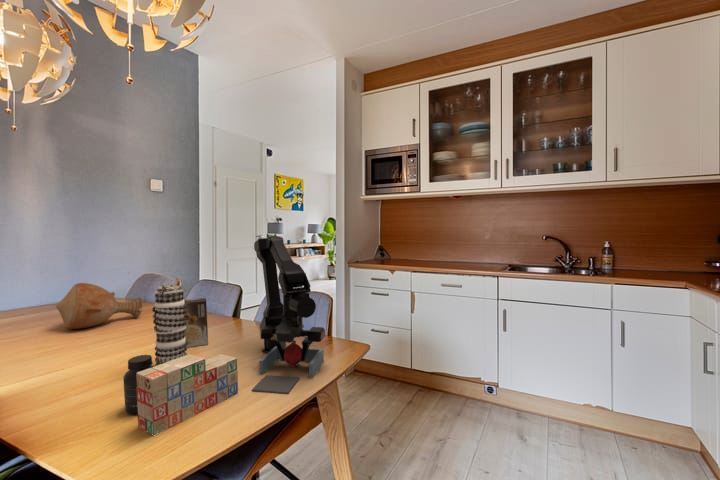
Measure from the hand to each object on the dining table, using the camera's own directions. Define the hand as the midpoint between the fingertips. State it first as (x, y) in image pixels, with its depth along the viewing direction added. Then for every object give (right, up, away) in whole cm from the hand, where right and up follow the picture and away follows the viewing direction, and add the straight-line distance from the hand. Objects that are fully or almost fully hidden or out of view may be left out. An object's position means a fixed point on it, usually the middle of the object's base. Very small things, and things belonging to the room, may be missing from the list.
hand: (293, 360), depth 106 cm
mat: (-2, -2, -12) cm, 12 cm away
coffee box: (-40, -1, +20) cm, 45 cm away
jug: (-92, 0, +46) cm, 103 cm away
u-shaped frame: (0, -2, -1) cm, 2 cm away
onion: (0, -2, 0) cm, 2 cm away
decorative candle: (-37, -2, 0) cm, 37 cm away
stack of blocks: (-19, -3, -24) cm, 31 cm away
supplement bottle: (-31, -3, -23) cm, 39 cm away
